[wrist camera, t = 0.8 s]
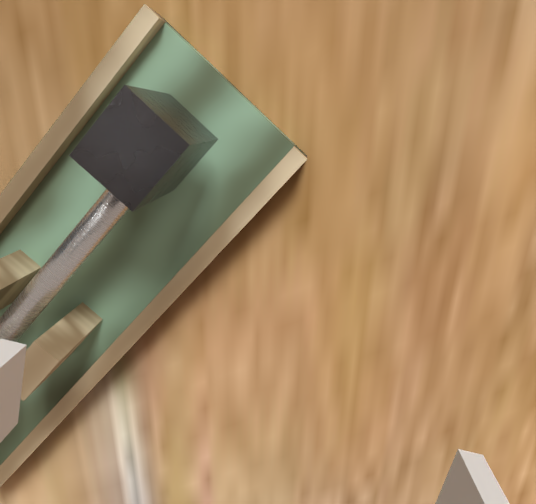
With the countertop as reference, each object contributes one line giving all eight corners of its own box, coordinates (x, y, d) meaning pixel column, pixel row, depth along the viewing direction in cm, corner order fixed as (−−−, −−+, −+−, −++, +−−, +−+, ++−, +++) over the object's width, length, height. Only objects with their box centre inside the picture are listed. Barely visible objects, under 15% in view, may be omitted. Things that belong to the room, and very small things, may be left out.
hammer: (172, 90, 32) (116, 77, 23) (229, 143, 33) (197, 152, 23) (-42, 352, 39) (-157, 429, 29) (9, 393, 39) (-87, 481, 30)
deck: (-155, 422, 45) (-265, 495, 36) (160, 15, 34) (110, -22, 25) (-30, 516, 47) (-107, 607, 38) (307, 155, 36) (307, 166, 27)
